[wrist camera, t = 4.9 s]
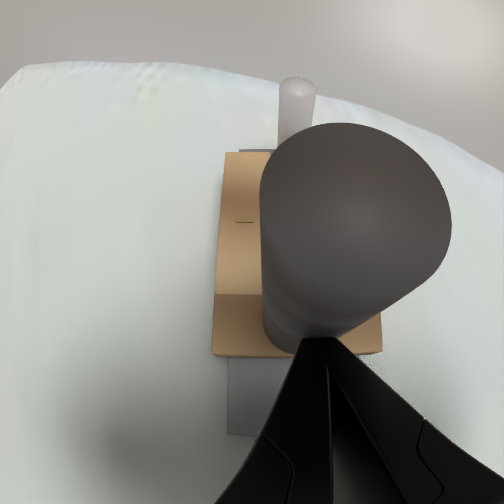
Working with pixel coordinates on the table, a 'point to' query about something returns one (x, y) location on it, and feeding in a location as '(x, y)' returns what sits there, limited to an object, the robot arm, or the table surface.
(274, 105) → the table surface
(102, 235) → the table surface
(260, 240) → the wooden base with post
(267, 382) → the rail
